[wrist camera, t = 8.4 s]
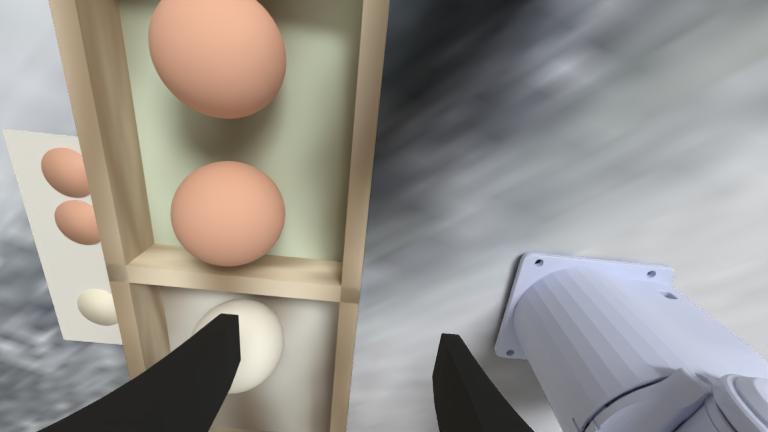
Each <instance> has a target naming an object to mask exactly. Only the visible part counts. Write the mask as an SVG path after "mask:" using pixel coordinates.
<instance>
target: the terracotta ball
mask: <svg viewBox="0 0 768 432" xmlns="http://www.w3.org/2000/svg"><path fill="white" fill-rule="evenodd" d="M170 215H171V223H172V227H173V230H174V233H175V235H176V237H177V239H178V241H179V242H180V244H181V245H182V246H183V247H184V248H185V249H186V250H187V251H188V252H189V253H190V254H192V255H193V256H194V257H196V258H198V259H199V260H201V261H203V262H206V263H209V264H213V265H218V266H228V267H230V266H239V265H244V264H247V263H250V262H252V261H254V260H256V259H258V258H260V257H262V256H263V255H264V254H266V253H267V252H268V251H269V250H270V249H271V248H272V247H273V246H274V244H275V243H276V242H277V240H278V239H279V237H280V235H281V233H282V230H283V227H284V223H285V205H284V201H283V198H282V195H281V193H280V191H279V189H278V187H277V186H276V184H275V183H274V182H273V181H272V179H271V178H269V177H268V176H267V175H266V174H265V173H264V172H262V171H261V170H259V169H257V168H256V167H253V166H251V165H248V164H245V163H241V162H236V161H221V162H214V163H210V164H208V165H205V166H202V167H200V168H198V169H197V170H195V171H193V172H192V173H191V174H190V175H188V176H187V177H186V178H185V179H184V180H183V181H182V183H181V184H180V185H179V187H178V188H177V190H176V192H175V195H174V197H173V200H172V204H171V213H170Z"/></svg>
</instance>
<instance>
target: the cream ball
mask: <svg viewBox="0 0 768 432" xmlns="http://www.w3.org/2000/svg"><path fill="white" fill-rule="evenodd" d="M221 313H224V314H235V315H239V333H240V352H241V361H240V364H239V367H238V369H237V372H236V375H235V378H234V380H233V383H232V385H231V388H230V390H229V392H228V394H234V393H241V392H245V391H248V390H250V389H253V388H254V387H256V386H258V385H260V384H261V383H262V382H264V381H265V380H266V379H267V378H268V377H269V376H270V375H271V374H272V373H273V371H274V370H275V369H276V367H277V365H278V364H279V361H280V359H281V357H282V353H283V350H284V341H285V339H284V331H283V327H282V324H281V322H280V320H279V318H278V317H277V315H276V314H275V313H274V312H273V311H272V310H271V309H270V308H269V307H268V306H266V305H264V304H262V303H260V302H258V301H255V300H250V299H235V300H230V301H227V302H224V303H221V304H219V305H217V306H216V307H214V308H212V309H211V310H210V311H208V312H207V313H206V314H205V315H204V316H203V317H202V318H201V319H200V321H199V322H198V323H197V325H196V327H195V328H194V330H193V332H192V335H191V336H193V335H194V334H195V333H197V332H198V331H199V330H200V329H202V328H203V327H204V326H205V325H207V324H208V323H209V322H210V321H212V320H213V319H214V318H215V317H217V316H218V315H219V314H221Z"/></svg>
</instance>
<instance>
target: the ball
mask: <svg viewBox="0 0 768 432" xmlns="http://www.w3.org/2000/svg"><path fill="white" fill-rule="evenodd" d="M148 44H149V51H150V56H151V59H152V62H153V65H154V67H155V69H156V72H157V73H158V75H159V77H160V79H161V80H162V82H163V83H164V84H165V86H166V87H167V88H168V89H169V90H170V91H171V93H172V94H173V95H174V96H176V97H177V98H178V99H179V100H180V101H181V102H183V103H184V104H185V105H187V106H189V107H190V108H192V109H194V110H196V111H198V112H200V113H202V114H205V115H208V116H212V117H217V118H225V119H233V118H241V117H246V116H249V115H252V114H254V113H256V112H258V111H260V110H261V109H263V108H264V107H266V106H267V105H268V104H269V103H270V102H271V101H272V100H273V99H274V98H275V96H276V95H277V93H278V92H279V90H280V88H281V86H282V83H283V80H284V77H285V72H286V51H285V45H284V42H283V39H282V36H281V34H280V31H279V29H278V27H277V25H276V23H275V22H274V20H273V18H272V17H271V16H270V14H269V13H268V12H267V10H266V9H265V8H264V7H263V6H262V5H261V4H260V3H259V2H258V1H256V0H161V1H160V3H159V4H158V5H157V7H156V9H155V11H154V13H153V15H152V18H151V21H150V25H149V31H148Z"/></svg>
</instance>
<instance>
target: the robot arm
mask: <svg viewBox="0 0 768 432" xmlns="http://www.w3.org/2000/svg"><path fill="white" fill-rule="evenodd" d="M538 259H541V261H540V262H539V263H537V264H535V262H536V260H538ZM650 271H651V272H650ZM648 272H650V273H649V274H647V273H648ZM674 276H675V271H674V270H673V269H672V268H670V267H668V266H662V265H652V264H642V263H632V262H623V261H613V260H603V259H593V258H583V257H573V256H563V255H553V254H544V253H534V252H528V253H525V254H524V255H523V256H522V257H521V260H520V263H519V266H518V270H517V273H516V276H515V280H514V283H513V287H512V290H511V293H510V297H509V300H508V304H507V307H506V310H505V314H504V317H503V320H502V324H501V327H500V331H499V334H498V337H497V341H496V344H495V347H494V351H495V353H496V355H497V356H498V357H501V358H512V359H524V360H528V361H529V363H530V365H531V367H532V369H533V371H534V373H535V375H536V377H537V379H538V381H539V383H540V385H541V388H542V390H543V392H544V394H545V396H546V398H547V400H548V402H549V404H550V406H551V408H552V410H553V412H554V414H555V416H556V418H557V420H558V422H559V424H560V426H561V428H562V430H563V432H768V363H767V362H766V361H765V360H764V358H763V357H762V356H761V355H760V354H759V353H758V352H757V351H756V350H755V349H753V348H752V347H751V346H750V345H748V344H747V343H746V342H744V341H743V340H742V339H741V338H739V337H738V336H737V335H735V334H734V333H733V332H731V331H730V330H729V329H727V328H726V327H725V326H724V325H722V324H721V323H720V322H718V321H717V320H716V319H714V318H713V317H712V316H711V315H709V314H708V313H707V312H705V311H704V310H703V309H701V308H700V307H699V306H697V305H696V304H695V303H694V302H692V301H691V300H690V299H688V298H687V297H686V296H684V295H683V294H682V293H680V292H679V291H678V290H677V289H675V288H674V287H673V286H671V285H670V284H671V282H672V280H673V278H674ZM509 350H511V351H510V352H507V351H509ZM240 361H241V352H240V333H239V315H235V314H224V313H221V314H219V315H218V316H217V317H215V318H214V319H213V320H212V321H210V322H209V323H208V324H207V325H205V326H204V327H203V328H202V329H200V330H199V331H198V332H197V333H195V334H194V335H193V336H191V337H190V338H189V339H188V340H186V341H185V342H184V343H182V344H181V345H180V346H179V347H177V348H176V349H175V350H173V351H172V352H171V353H169V354H168V355H167V356H165V357H164V358H163V359H161V360H160V361H158V362H157V363H156V364H154V365H153V366H151V367H150V368H148V369H147V370H146V371H144V372H143V373H141V374H140V375H138V376H137V377H135V378H134V379H132V380H131V381H129V382H127V383H126V384H124V385H123V386H121V387H119V388H118V389H116V390H114V391H113V392H111V393H109V394H108V395H106V396H104V397H103V398H101V399H99V400H97V401H95V402H94V403H92V404H90V405H88V406H86V407H84V408H82V409H81V410H79V411H77V412H75V413H73V414H71V415H69V416H68V417H66V418H64V419H62V420H60V421H58V422H56V423H54V424H52V425H50V426H48V427H46V428H44V429H42V430H40V431H37V432H208V431H209V429H210V427H211V425H212V423H213V421H214V420H215V418H216V416H217V414H218V412H219V410H220V408H221V406H222V404H223V402H224V400H225V398H226V396H227V394H228V392H229V390H230V388H231V385H232V383H233V380H234V378H235V375H236V372H237V369H238V367H239V364H240ZM432 378H433V392H434V403H435V409H436V415H437V420H438V425H439V430H440V432H534V431H533V430H532V429H531V428H530V427H529V425H528V424H527V423H526V422H525V421H524V420H523V419H522V418H521V417H520V416H519V415H518V414H517V413H516V411H515V410H514V409H513V408H512V407H511V406H510V404H509V403H508V402H507V401H506V400H505V398H504V397H503V396H502V395H501V393H500V392H499V391H498V390H497V388H496V387H495V386H494V384H493V383H492V382H491V380H490V379H489V378H488V376H487V375H486V374H485V372H484V371H483V370H482V368H481V367H480V365H479V364H478V362H477V361H476V360H475V358H474V357H473V355H472V354H471V352H470V351H469V349H468V348H467V346H466V345H465V343H464V342H463V340H462V339H461V337H460V336H459V335H456V334H445V333H442V334H441V339H440V344H439V348H438V353H437V357H436V362H435V366H434V371H433V376H432Z"/></svg>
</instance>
